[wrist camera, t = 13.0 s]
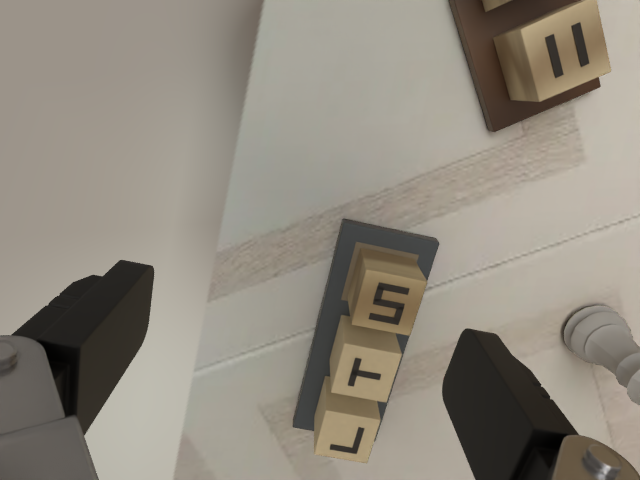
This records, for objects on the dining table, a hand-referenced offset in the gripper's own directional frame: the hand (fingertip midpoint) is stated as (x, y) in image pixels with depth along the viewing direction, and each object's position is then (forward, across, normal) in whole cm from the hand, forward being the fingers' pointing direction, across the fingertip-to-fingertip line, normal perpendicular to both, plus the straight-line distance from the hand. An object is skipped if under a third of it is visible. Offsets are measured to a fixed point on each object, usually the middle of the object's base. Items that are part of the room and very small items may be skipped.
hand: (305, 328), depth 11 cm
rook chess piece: (+20, -24, +7) cm, 32 cm away
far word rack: (+20, -7, +12) cm, 24 cm away
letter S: (+19, -7, +6) cm, 21 cm away
